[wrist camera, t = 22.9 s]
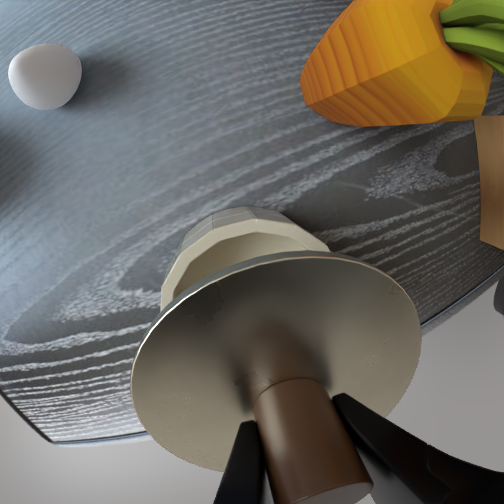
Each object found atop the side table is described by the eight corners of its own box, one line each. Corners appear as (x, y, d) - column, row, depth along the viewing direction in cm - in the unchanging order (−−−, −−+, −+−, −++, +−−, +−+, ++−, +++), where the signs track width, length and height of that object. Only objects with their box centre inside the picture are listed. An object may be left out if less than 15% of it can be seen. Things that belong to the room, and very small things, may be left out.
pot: (325, 323, 19) (348, 356, 16) (196, 357, 19) (195, 398, 15) (306, 190, 16) (334, 199, 13) (149, 229, 16) (132, 250, 12)
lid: (398, 420, 10) (440, 483, 6) (195, 479, 10) (201, 556, 6) (419, 213, 7) (540, 261, 3) (78, 301, 7) (-1, 414, 3)
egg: (98, 58, 12) (59, 23, 7) (76, 116, 13) (26, 102, 8) (52, 55, 11) (6, 28, 6) (31, 110, 12) (-22, 99, 7)
